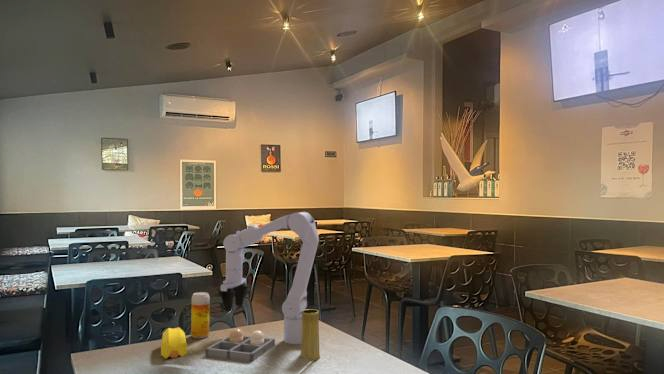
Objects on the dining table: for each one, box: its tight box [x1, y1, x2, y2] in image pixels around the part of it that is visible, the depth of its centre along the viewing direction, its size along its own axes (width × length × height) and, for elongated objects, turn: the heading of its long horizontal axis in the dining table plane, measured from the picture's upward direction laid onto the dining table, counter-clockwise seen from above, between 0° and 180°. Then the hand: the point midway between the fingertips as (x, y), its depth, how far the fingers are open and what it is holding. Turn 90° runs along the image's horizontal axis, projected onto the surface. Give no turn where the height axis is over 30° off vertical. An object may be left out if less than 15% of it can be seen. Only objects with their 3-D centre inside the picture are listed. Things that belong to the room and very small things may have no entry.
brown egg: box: [229, 327, 244, 343], centre depth 154 cm, size 4×4×6 cm
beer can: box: [190, 291, 211, 340], centre depth 167 cm, size 6×6×15 cm
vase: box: [300, 308, 321, 362], centre depth 146 cm, size 6×6×14 cm
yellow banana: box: [160, 326, 188, 360], centre depth 150 cm, size 18×7×8 cm
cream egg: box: [249, 329, 265, 345], centre depth 152 cm, size 4×4×6 cm
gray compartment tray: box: [204, 334, 276, 363], centre depth 149 cm, size 16×16×3 cm
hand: (233, 308), depth 165 cm, fingers open, 7 cm apart
